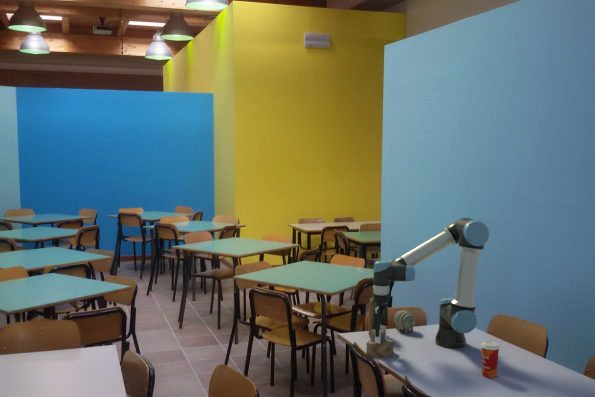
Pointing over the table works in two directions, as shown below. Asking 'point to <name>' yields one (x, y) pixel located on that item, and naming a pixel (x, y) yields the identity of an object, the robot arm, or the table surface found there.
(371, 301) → the brown oblong lump
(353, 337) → the table surface
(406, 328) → the cream beehive honey pot
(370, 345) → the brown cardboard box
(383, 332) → the dice cube
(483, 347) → the paper cup
